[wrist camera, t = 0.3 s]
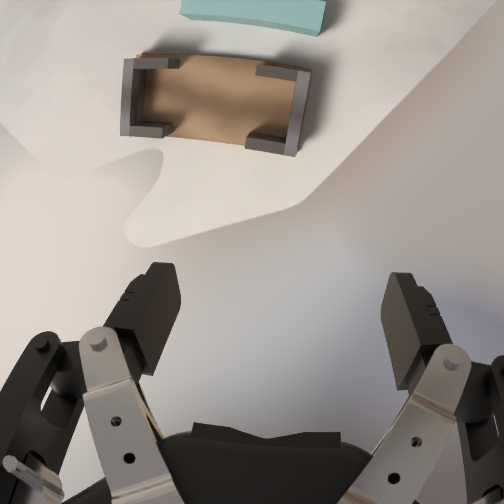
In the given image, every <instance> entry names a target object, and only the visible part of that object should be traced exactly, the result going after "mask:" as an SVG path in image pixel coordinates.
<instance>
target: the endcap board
mask: <svg viewBox="0 0 504 504" xmlns="http://www.w3.org/2000/svg"><path fill="white" fill-rule="evenodd" d="M311 73H312V69H308V68H302V67H297V66H291V65H286V64H279V63H273V62H266V61H258V60H250V59H241V58H231V57H219V56H204V55H175V54H153V55H137V56H136V58H132V59H124V68H123V80H122V96H121V118H120V136H135V137H149V138H161V139H162V138H164V137H166V136H167V137H178V138H188V139H197V140H205V141H214V142H221V143H229V144H236V145H243V146H245V149H251V150H258V151H264V152H270V153H275V154H281V155H287V156H292V157H295V156H296V155H297V150H298V144H299V139H300V134H301V128H302V123H303V118H304V112H305V107H306V101H307V96H308V90H309V84H310V79H311Z"/></svg>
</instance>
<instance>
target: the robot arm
mask: <svg viewBox="0 0 504 504" xmlns="http://www.w3.org/2000/svg"><path fill="white" fill-rule="evenodd" d="M180 306H181V294H180V290H179V285H178V280H177V275H176V270H175V266H174V264H173V263H160V262H154V263H152V264H151V266H150V268H149V269H148V271H147V272H146V274H145V275H144V274H140V275H139V276H138V277H136V278H135V279H134V280H133V281H131V282H130V284H129V285H128V287H127V289H126V290H125V293H123V295H122V296H121V298H120V301H118V303H117V304H116V306H115V307H114V309H113V311H112V312H111V314H110V315H109V317H108V319H107V320H106V322H105V324H104V325H103V327H97V328H93V329H91V330H89V331H88V332H86V333H85V334H84V335H83V336H82V338H81V340H80V341H72V342H61V341H60V339H59V337H58V336H57V334H55V333H54V332H49V331H47V332H42V333H40V334H38V335H36V336H35V337H34V338H33V339H32V340H31V341H30V342H29V344H28V345H27V347H26V348H25V350H24V352H23V353H22V355H21V356H20V358H19V360H18V361H17V363H16V365H15V366H14V368H13V370H12V372H11V373H10V375H9V377H8V379H7V380H6V382H5V384H4V386H3V388H2V390H1V391H0V504H419V503H418V502H417V501H416V500H415V498H416V497H417V495H418V493H419V492H420V490H421V489H422V487H423V485H424V483H425V482H426V480H427V478H428V476H429V475H430V473H431V471H432V469H433V467H434V465H435V463H436V461H437V460H438V457H439V456H440V453H441V451H442V450H443V448H444V446H445V443H446V441H447V439H448V437H449V435H450V433H451V431H452V428H453V426H454V424H455V421H457V425H458V430H459V436H460V442H461V449H462V456H463V463H464V470H465V479H466V490H467V504H504V356H503V355H502V356H498V357H497V358H495V359H494V361H493V362H492V364H491V365H486V364H481V363H476V362H472V361H471V359H470V357H469V355H468V354H467V353H466V352H465V350H463V349H462V348H460V347H459V346H456V345H453V343H452V341H451V338H450V336H449V333H448V331H447V329H446V326H445V324H444V321H443V319H442V317H441V316H440V312H439V310H438V308H436V303H435V301H434V299H433V297H432V295H431V294H430V293H429V292H428V291H427V290H426V289H425V288H424V287H421V286H420V287H419V286H417V284H416V281H415V279H414V278H413V275H412V274H411V273H397V272H392V273H391V274H390V276H389V280H388V284H387V287H386V291H385V295H384V298H383V302H382V306H381V321H382V325H383V329H384V333H385V337H386V341H387V345H388V349H389V354H390V358H391V363H392V367H393V372H394V377H395V381H396V387H397V390H408V393H409V397H408V399H407V400H406V402H405V404H404V405H403V407H402V408H401V410H400V412H399V413H398V415H397V416H396V418H395V420H394V421H393V423H392V424H391V426H390V427H389V429H388V430H387V432H386V433H385V435H384V436H383V438H382V439H381V441H380V442H379V444H378V445H377V446H376V448H375V449H374V450H373V452H372V453H371V454H369V453H368V452H366V451H365V450H363V449H361V448H359V447H357V446H355V445H352V444H349V443H346V442H342V441H341V438H340V437H341V434H340V432H303V433H298V434H293V435H288V436H282V437H276V438H269V439H265V438H260V437H257V436H254V435H251V434H248V433H245V432H242V431H239V430H236V429H233V428H230V427H224V426H216V425H209V424H202V423H195V422H194V424H193V428H192V431H189V432H183V433H177V434H174V435H171V436H168V437H166V438H164V436H163V435H162V433H161V431H160V429H159V427H158V425H157V423H156V421H155V419H154V416H153V414H152V412H151V409H150V407H149V405H148V402H147V400H146V397H145V395H144V392H143V390H142V387H141V385H140V383H139V380H140V377H141V375H142V374H145V375H150V376H153V374H154V371H155V369H156V366H157V364H158V361H159V359H160V356H161V354H162V351H163V349H164V347H165V344H166V342H167V339H168V337H169V334H170V332H171V329H172V327H173V325H174V322H175V320H176V317H177V315H178V313H179V310H180ZM49 386H51V388H52V390H51V392H50V394H49V396H48V398H47V401H46V403H45V405H44V407H43V409H42V411H41V403H42V400H43V398H44V396H45V394H46V392H47V390H48V388H49ZM84 405H85V409H86V413H87V417H88V421H89V425H90V429H91V432H92V436H93V439H94V443H95V446H96V450H97V453H98V456H99V459H100V463H101V466H102V469H103V472H104V474H105V477H104V478H103V479H101V480H99V481H98V482H96V483H95V484H93V485H92V486H90V487H88V488H87V489H85V490H83V491H82V492H80V493H78V494H77V495H75V496H73V497H71V498H70V499H68V500H66V501H65V502H63V503H62V500H63V498H64V491H63V490H62V483H61V480H60V478H59V477H58V475H59V472H60V469H61V466H62V463H63V460H64V458H65V455H66V452H67V449H68V446H69V444H70V441H71V438H72V436H73V433H74V430H75V428H76V425H77V423H78V420H79V417H80V415H81V413H82V410H83V408H84ZM494 415H495V419H496V423H497V427H498V431H499V438H498V434H497V430H496V425H495V421H494V417H493V416H494Z"/></svg>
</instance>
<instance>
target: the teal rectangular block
mask: <svg viewBox="0 0 504 504" xmlns="http://www.w3.org/2000/svg"><path fill="white" fill-rule="evenodd" d="M325 5H326V2H325V1H321V0H182V4H181V9H180V14H181V15H183V16H185V17H187V18H189V19H191V20H202V21H217V22H229V23H238V24H247V25H254V26H261V27H268V28H274V29H280V30H285V31H291V32H296V33H301V34H305V35H310V36H314V37H317V35H318V34H319V32H320V29H321V24H322V19H323V14H324V9H325Z"/></svg>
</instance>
